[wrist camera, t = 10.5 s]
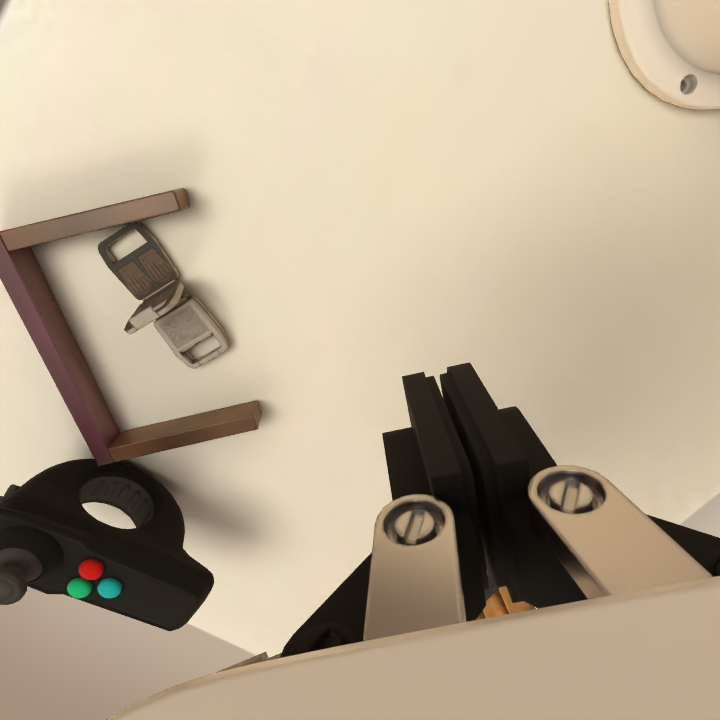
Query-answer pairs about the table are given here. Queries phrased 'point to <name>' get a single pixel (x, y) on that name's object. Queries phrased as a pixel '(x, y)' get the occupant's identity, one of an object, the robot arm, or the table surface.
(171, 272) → the strap clip
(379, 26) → the table surface
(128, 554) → the controller
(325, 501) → the table surface
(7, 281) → the frame
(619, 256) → the table surface
